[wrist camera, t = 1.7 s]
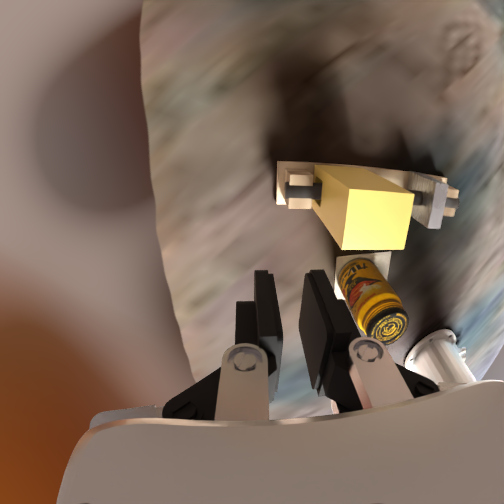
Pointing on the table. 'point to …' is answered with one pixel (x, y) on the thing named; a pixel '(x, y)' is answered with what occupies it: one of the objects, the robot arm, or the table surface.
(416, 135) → the table surface
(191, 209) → the table surface
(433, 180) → the grey slab
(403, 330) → the condiment
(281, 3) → the table surface
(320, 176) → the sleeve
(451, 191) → the cord rig
